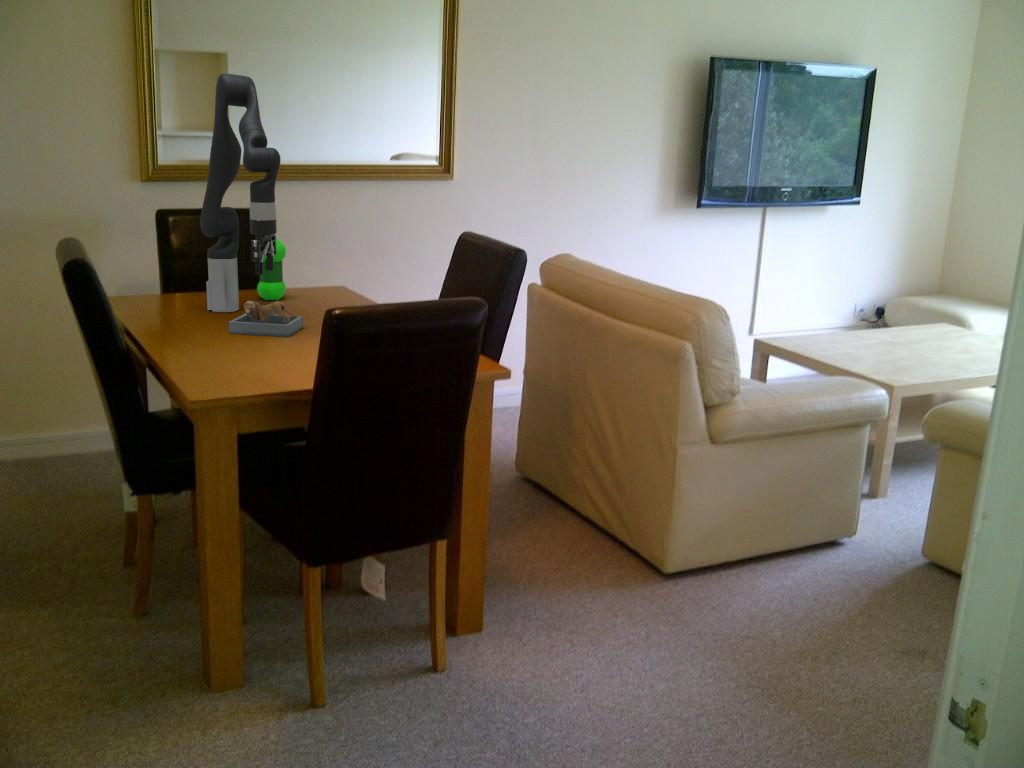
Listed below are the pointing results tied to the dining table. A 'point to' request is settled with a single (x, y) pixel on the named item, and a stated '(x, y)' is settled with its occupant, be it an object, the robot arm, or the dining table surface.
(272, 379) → the dining table surface
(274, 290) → the plastic bottle
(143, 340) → the dining table surface
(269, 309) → the lion figurine
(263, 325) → the tray
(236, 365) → the dining table surface
